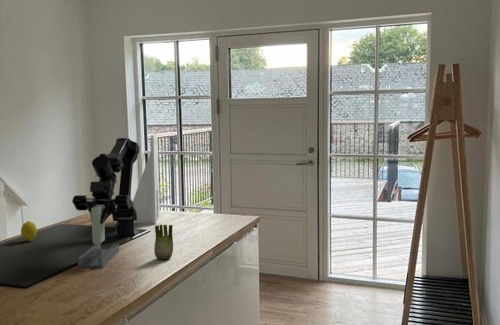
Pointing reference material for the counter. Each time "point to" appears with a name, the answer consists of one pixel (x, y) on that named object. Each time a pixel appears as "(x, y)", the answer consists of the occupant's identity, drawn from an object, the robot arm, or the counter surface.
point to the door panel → (97, 225)
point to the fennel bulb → (163, 242)
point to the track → (97, 256)
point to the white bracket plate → (148, 188)
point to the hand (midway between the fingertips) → (96, 223)
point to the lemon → (28, 230)
